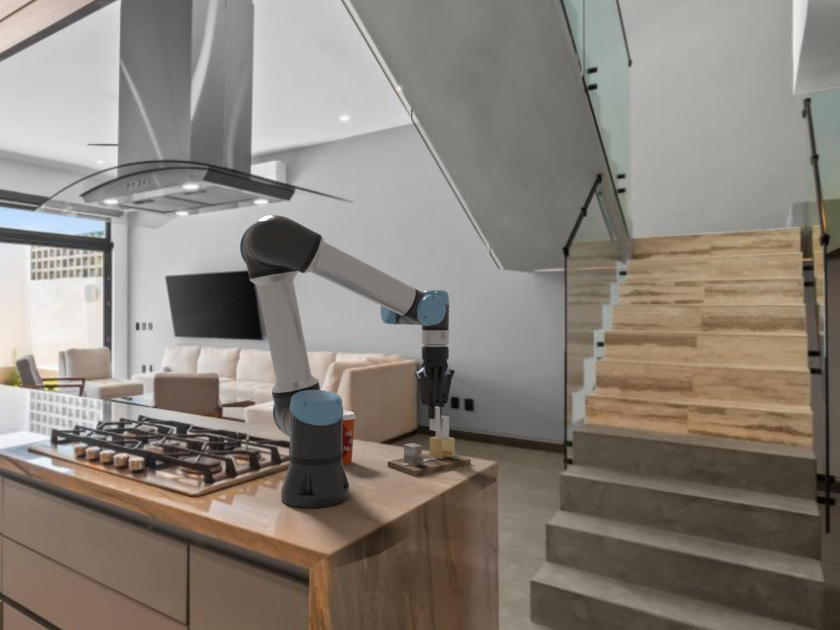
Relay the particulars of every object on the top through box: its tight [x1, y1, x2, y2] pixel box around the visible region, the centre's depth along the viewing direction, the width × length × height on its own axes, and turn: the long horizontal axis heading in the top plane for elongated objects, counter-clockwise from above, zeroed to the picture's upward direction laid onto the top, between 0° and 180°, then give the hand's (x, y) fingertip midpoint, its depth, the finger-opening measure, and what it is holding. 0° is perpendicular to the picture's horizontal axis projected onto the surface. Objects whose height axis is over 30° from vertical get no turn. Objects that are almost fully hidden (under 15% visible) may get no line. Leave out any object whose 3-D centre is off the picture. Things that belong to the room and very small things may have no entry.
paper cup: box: [342, 410, 357, 466], centre depth 154 cm, size 8×8×14 cm
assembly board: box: [387, 442, 472, 478], centre depth 152 cm, size 20×12×6 cm, turn 129°
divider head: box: [429, 414, 456, 459], centre depth 154 cm, size 5×7×11 cm
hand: (434, 430), depth 153 cm, fingers closed
